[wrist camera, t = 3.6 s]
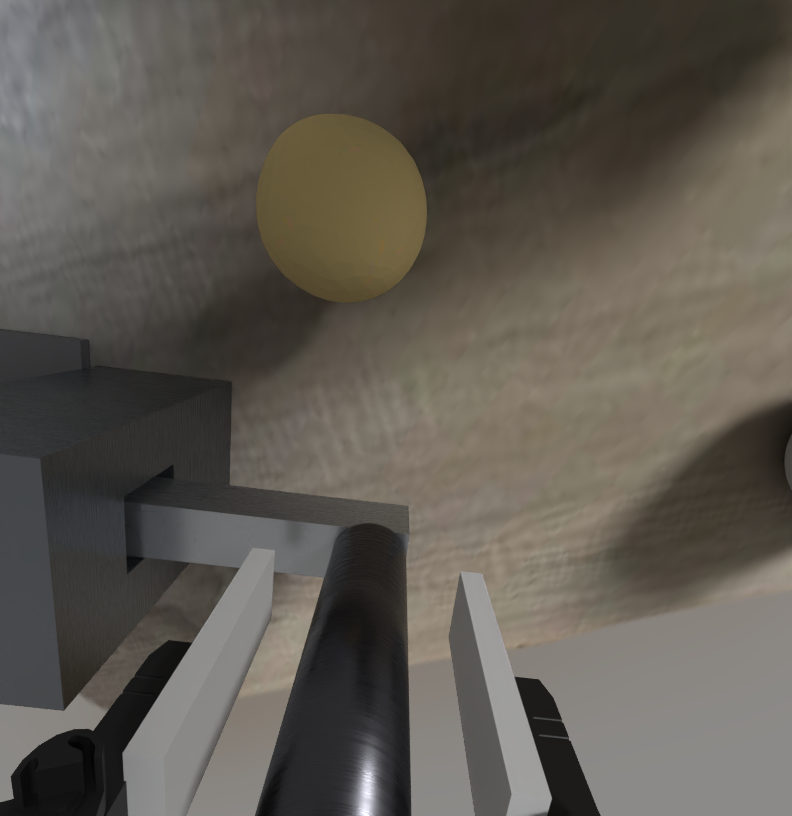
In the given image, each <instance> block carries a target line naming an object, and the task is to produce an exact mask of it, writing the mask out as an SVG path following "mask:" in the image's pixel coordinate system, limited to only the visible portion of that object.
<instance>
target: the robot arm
mask: <svg viewBox="0 0 792 816" xmlns="http://www.w3.org/2000/svg"><path fill="white" fill-rule="evenodd" d="M274 557H275V550H268V549H259V548H252V550H251V552H250V553H249V555H248V556H247V558H246V559H245V561H244V563H243V564H242V566H241V567H240V569H239V570H238V572H237V574H236V575H235V577H234V578H233V580H232V582H231V583H230V585H229V586H228V588H227V589H226V591H225V593H224V594H223V596H222V597H221V599H220V600H219V602H218V604H217V605H216V607H215V608H214V610H213V611H212V613H211V615H210V616H209V618H208V619H207V621H206V623H205V624H204V626H203V627H202V629H201V630H200V632H199V634H198V635H197V637H196V638H195V640H194V641H193V643H189V642H180V641H171V640H168V641H167V642H166V643H164V644H163V645H162V646H161V647H159V648H158V649H157V650H155V651H154V652H153V653H152V654H150V655H149V656H148V658H147V659H146V660H145V662H144V663H143V664H142V666H141V667H140V668H139V670H138V671H137V673H136V674H135V677H134V678H132V679H131V681H130V682H129V683H128V685H127V686H126V687H125V689H124V690H123V693H122V694H120V696H119V697H118V698H117V700H116V701H115V702H114V704H113V705H112V706H111V708H110V709H109V710H108V712H107V713H106V714H105V716H104V717H103V719H102V720H101V721H100V723H99V724H98V725H97V727H96V728H95V730H94V731H92V730H89V729H74V730H71V731H67V732H64V733H61V734H58V735H56V736H54V737H53V738H51V739H49V740H48V741H46V742H44V743H42V744H41V745H39V746H38V747H37V748H36V749H35V750H33V751H32V752H31V753H30V754H29V755H28V756H27V757H26V758H24V759H23V760H22V762H21V763H20V764H19V766H18V767H17V769H16V770H15V771H14V773H13V774H12V776H11V781H12V789H13V796H14V799H12V800H8V801H4V802H0V816H186V815H187V812H188V810H189V808H190V805H191V803H192V800H193V798H194V796H195V793H196V791H197V789H198V786H199V784H200V782H201V780H202V777H203V775H204V773H205V770H206V768H207V766H208V763H209V761H210V758H211V756H212V754H213V751H214V749H215V747H216V745H217V742H218V740H219V738H220V735H221V733H222V731H223V728H224V726H225V723H226V721H227V719H228V717H229V714H230V712H231V710H232V707H233V705H234V703H235V700H236V698H237V696H238V693H239V691H240V689H241V686H242V684H243V682H244V679H245V677H246V675H247V672H248V670H249V668H250V665H251V663H252V661H253V658H254V656H255V654H256V651H257V649H258V647H259V644H260V642H261V640H262V637H263V635H264V633H265V630H266V628H267V626H268V623H269V621H270V619H271V612H272V593H273V575H274ZM449 642H450V649H451V656H452V662H453V669H454V676H455V682H456V690H457V696H458V703H459V710H460V716H461V723H462V730H463V737H464V743H465V751H466V758H467V764H468V771H469V777H470V785H471V792H472V798H473V805H474V812H475V816H600V814H599V811H598V809H597V807H596V804H595V802H594V799H593V797H592V794H591V792H590V789H589V787H588V784H587V781H586V779H585V776H584V774H583V772H582V769H581V766H580V764H579V761H578V759H577V756H576V754H575V751H574V749H573V746H572V744H571V741H569V736H568V734H567V731H566V729H565V726H564V724H563V723H562V718H561V716H560V714H559V712H558V708H557V706H556V703H555V701H554V698H553V697H552V696H551V694H550V693H549V692H548V690H547V689H546V688H545V687H544V685H543V684H542V683H541V681H540V680H538V679H529V678H520V677H514V675H513V672H512V669H511V665H510V662H509V659H508V656H507V652H506V649H505V646H504V643H503V640H502V636H501V633H500V630H499V627H498V623H497V620H496V617H495V614H494V611H493V607H492V604H491V601H490V598H489V595H488V591H487V588H486V585H485V582H484V578H483V575H482V574H480V573H471V572H463V571H460V576H459V582H458V588H457V593H456V599H455V604H454V610H453V615H452V621H451V627H450V632H449Z"/></svg>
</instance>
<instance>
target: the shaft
mask: <svg viewBox="0 0 792 816" xmlns="http://www.w3.org/2000/svg"><path fill="white" fill-rule="evenodd" d="M124 515H125V538H126V555H128V556H137V557H146V558H155V559H163V560H172V561H181V562H190V563H199V564H208V565H217V566H226V567H235V568H240V567H241V566H242V564H243V563H244V561H245V559H246V558H247V556H248V555H249V553H250V552H251V550H252V548H259V549H268V550H275V557H274V572H279V573H288V574H297V575H306V576H315V577H324V580H323V584H322V587H321V591H320V594H319V598H318V601H317V604H316V608H315V611H314V615H313V618H312V622H311V625H310V629H309V632H308V635H307V639H306V642H305V646H304V649H303V653H302V656H301V659H300V663H299V666H298V670H297V673H296V677H295V680H294V683H293V687H292V690H291V694H290V697H289V701H288V704H287V708H286V711H285V715H284V718H283V721H282V725H281V728H280V731H279V735H278V738H277V742H276V745H275V749H274V752H273V755H272V759H271V762H270V766H269V769H268V773H267V776H266V779H265V783H264V786H263V790H262V793H261V797H260V800H259V804H258V807H257V811H256V814H255V816H411V780H410V779H411V778H410V727H409V683H408V682H409V679H408V678H409V677H408V628H407V578H406V556H407V549H408V542H409V535H410V534H409V507H408V506H404V505H395V504H386V503H378V502H369V501H360V500H352V499H343V498H334V497H326V496H317V495H308V494H300V493H291V492H282V491H274V490H265V489H256V488H248V487H239V486H230V485H222V484H213V483H204V482H196V481H187V480H178V479H170V478H161V477H153V478H152V479H150V480H149V481H147V482H146V483H144V484H143V485H141V486H139V487H138V488H136V489H135V490H133V491H132V492H130V493H129V494H127V495H126V496H124Z"/></svg>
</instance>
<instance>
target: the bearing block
mask: <svg viewBox="0 0 792 816" xmlns="http://www.w3.org/2000/svg"><path fill="white" fill-rule="evenodd" d="M231 393H232V382H229V381H220V380H212V379H204V378H195V377H187V376H178V375H170V374H162V373H153V372H145V371H137V370H128V369H120V368H111V367H103V366H95V367H89V368H83V369H77V370H71V371H66V372H60V373H54V374H48V375H42V376H36V377H31V378H25V379H19V380H13V381H7V382H1V383H0V704H6V705H15V706H25V707H34V708H44V709H54V710H62V711H64V710H65V709H66V708H67V706H68V705H69V704H70V703H71V702H72V701H73V699H74V698H75V697H76V696H77V695H78V693H79V692H80V691H81V690H82V689H83V688H84V686H85V685H86V684H87V683H88V682H89V681H90V679H91V678H92V677H93V676H94V675H95V673H96V672H97V671H98V670H99V669H100V668H101V666H102V665H103V664H104V663H105V662H106V661H107V659H108V658H109V657H110V656H111V655H112V653H113V652H114V651H115V650H116V649H117V648H118V646H119V645H120V644H121V643H122V642H123V641H124V639H125V638H126V637H127V636H128V635H129V634H130V632H131V631H132V630H133V629H134V628H135V626H136V625H137V624H138V623H139V622H140V621H141V619H142V618H143V617H144V616H145V615H146V614H147V612H148V611H149V610H150V609H151V608H152V606H153V605H154V604H155V603H156V602H157V601H158V599H159V598H160V597H161V596H162V595H163V594H164V592H165V591H166V590H167V589H168V588H169V586H170V585H171V584H172V583H173V582H174V581H175V579H176V578H177V577H178V576H179V575H180V574H181V572H182V571H183V570H184V569H185V568H186V566H187V565H188V564H189V563H190V562H181V561H172V560H163V559H155V558H146V557H137V556H128V555H126V538H125V515H124V496H126V495H127V494H129V493H130V492H132V491H133V490H135V489H136V488H138V487H139V486H141V485H143V484H144V483H146V482H147V481H149V480H150V479H152V478H153V477H161V478H170V479H178V480H187V481H196V482H204V483H213V484H222V485H229V478H230V436H231Z"/></svg>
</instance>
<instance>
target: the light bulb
mask: <svg viewBox="0 0 792 816" xmlns="http://www.w3.org/2000/svg"><path fill="white" fill-rule="evenodd" d="M256 216H257V223H258V228H259V233H260V236H261V239H262V242H263V245H264V247H265V249H266V250H267V252H268V254H269V256H270V258H271V260H272V261H273V263H274V264H275V265H276V266H277V267H278V269H279V270H280V271H281V272H282V273H283V275H284V276H285V277H287V278H288V279H289V280H290V281H292V282H293V283H294V284H295V285H296V286H298V287H299V288H301V289H303V290H305V291H306V292H308V293H310V294H312V295H313V296H316V297H319V298H322V299H325V300H328V301H334V302H342V303H350V302H360V301H365V300H369V299H372V298H374V297H377V296H379V295H381V294H383V293H385V292H387V291H388V290H390V289H391V288H392V287H393V286H395V285H396V284H397V283H398V282H399V281H401V280H402V278H403V277H404V276H405V275H406V273H407V272H408V271H409V270H410V268H411V267H412V265H413V263H414V262H415V260H416V258H417V256H418V254H419V252H420V249H421V246H422V243H423V240H424V236H425V230H426V222H427V204H426V194H425V190H424V186H423V182H422V178H421V175H420V173H419V171H418V168H417V166H416V164H415V162H414V160H413V158H412V157H411V156H410V154H409V153H408V151H407V150H406V149H405V147H404V146H403V145H402V143H400V142H399V141H398V140H397V139H396V138H395V137H394V136H393V135H391V134H390V133H389V132H387V131H386V130H385V129H383V128H382V127H381V126H379V125H376V124H374V123H372V122H370V121H368V120H366V119H363V118H359V117H355V116H351V115H347V114H319V115H313V116H310V117H307V118H304V119H302V120H300V121H298V122H296V123H295V124H293V125H291V126H289V127H288V128H287V129H286V130H285V131H284V132H283V133H282V134H281V135H280V136H279V137H278V138H277V140H276V142H275V143H274V145H273V146H272V148H271V149H270V151H269V153H268V155H267V157H266V159H265V161H264V164H263V168H262V171H261V174H260V177H259V181H258V187H257V195H256Z"/></svg>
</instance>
